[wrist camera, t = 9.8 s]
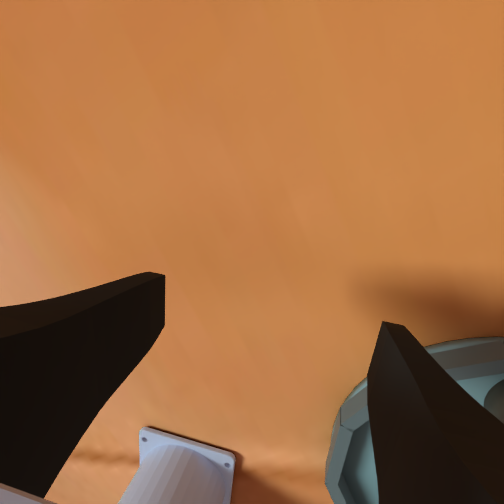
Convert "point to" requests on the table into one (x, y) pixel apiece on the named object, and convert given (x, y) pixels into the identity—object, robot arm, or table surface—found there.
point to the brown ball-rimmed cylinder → (496, 401)
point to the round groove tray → (358, 426)
